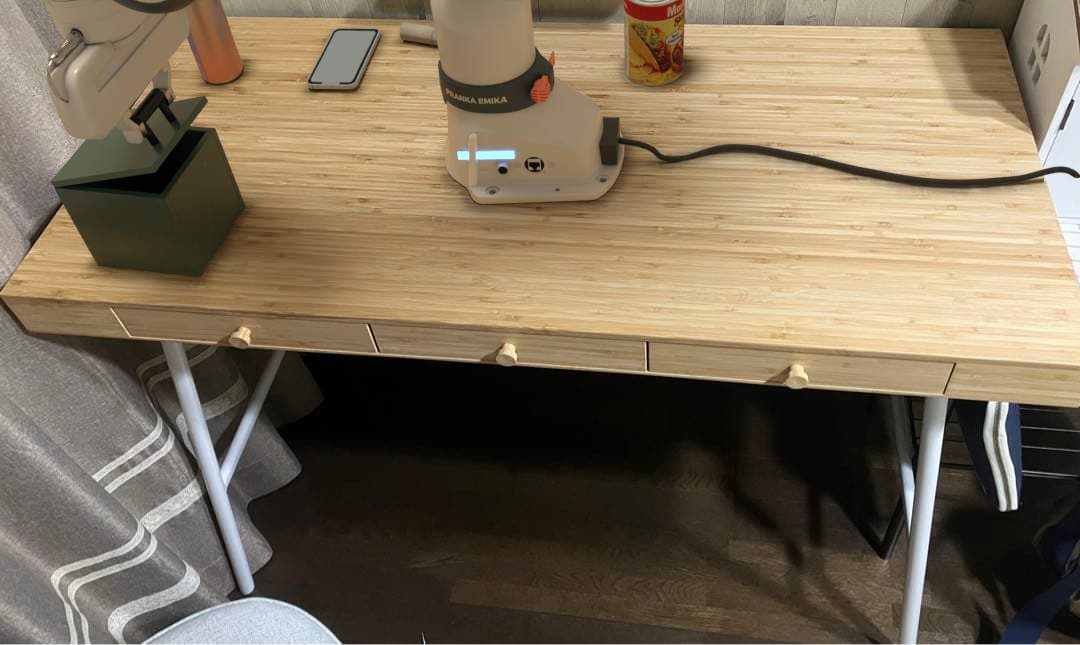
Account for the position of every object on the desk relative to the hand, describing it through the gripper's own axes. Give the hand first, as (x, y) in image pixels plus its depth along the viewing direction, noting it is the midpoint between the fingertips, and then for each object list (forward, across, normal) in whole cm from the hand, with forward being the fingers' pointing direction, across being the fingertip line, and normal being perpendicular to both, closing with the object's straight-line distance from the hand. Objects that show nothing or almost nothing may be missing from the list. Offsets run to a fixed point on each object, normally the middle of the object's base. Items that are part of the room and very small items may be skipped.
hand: (153, 120), depth 108 cm
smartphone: (+18, +38, -3) cm, 42 cm away
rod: (+18, +44, -16) cm, 50 cm away
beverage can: (+17, +33, +14) cm, 40 cm away
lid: (+3, 0, +4) cm, 5 cm away
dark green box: (+17, 0, +5) cm, 18 cm away
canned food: (+19, +41, -47) cm, 65 cm away
